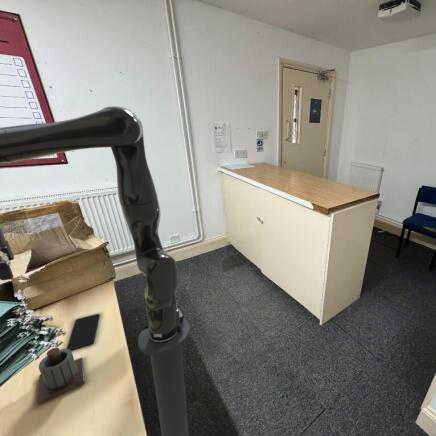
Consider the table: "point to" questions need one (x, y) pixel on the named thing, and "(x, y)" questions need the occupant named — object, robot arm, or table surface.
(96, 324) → the smartphone
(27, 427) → the table surface
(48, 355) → the peg stand
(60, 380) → the grey ribbed hollow cylinder
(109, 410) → the table surface
